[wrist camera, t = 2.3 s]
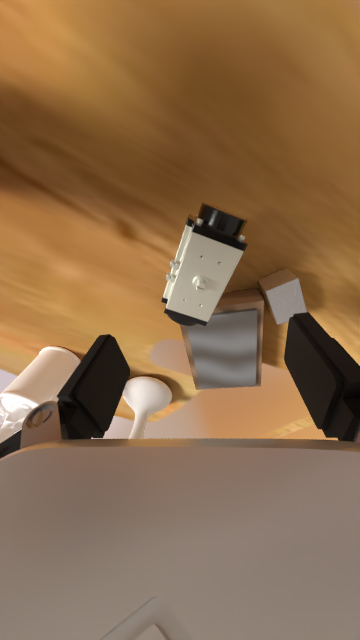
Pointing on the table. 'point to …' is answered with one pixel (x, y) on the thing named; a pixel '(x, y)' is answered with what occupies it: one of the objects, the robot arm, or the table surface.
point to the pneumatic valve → (203, 264)
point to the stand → (228, 343)
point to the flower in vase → (145, 400)
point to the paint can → (35, 387)
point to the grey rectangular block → (283, 295)
